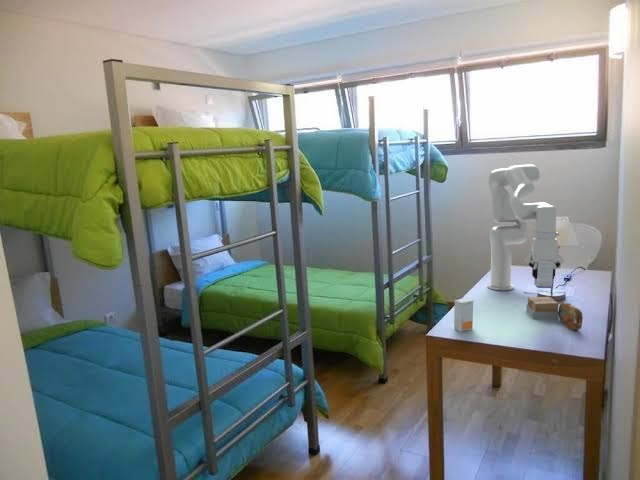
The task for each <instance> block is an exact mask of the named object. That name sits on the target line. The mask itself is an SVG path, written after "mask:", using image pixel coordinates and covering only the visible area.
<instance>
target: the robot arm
mask: <svg viewBox="0 0 640 480" xmlns="http://www.w3.org/2000/svg"><path fill="white" fill-rule="evenodd" d="M540 174H541V173H540V169H539V168H538V167H537V166H536V165H535V164H518V165H512V166H509V167H508V168H507V167H506V168H498V169H494V170H492V171H490V172H489V175H488V186H489V189H490V190H489V191H490V193H491V210H492V212H491V213H492V214H491V215H492V220H493V222H495V223H497V224H509V223H510V224H511V223H513V224H514V225H510V224H509V225H497V226H496V225H495V226H493V227H492V228H490V231H489V241H490V252H491V253H490V282H489V283H487V288H489V289H491V290H493V291H511V290H514V289H515V285H514V284H513V283H512V282H511V281H512V280H511V279H512V277H511V276H512V252H511V250H510V249H509V247H508V245H521V244H524V243H525V242H526V241H527V236H528V231H527V230H528V229H527V228H528V227H527V225H528V222H534V221H535V231H534V232H535V233H534V237H533V238H532V240H531V246H530V253H529V255H528V256H527V257H525V258H524V262H525V263H526V265H529V267H530V268H532V271H531V274H532V277H533V278H534V280H535V279H537V265H538V262H539V261H553V279H552V280H554V279H555V277H556V270H557V268H559V266H561V265H562V264H564V262H565V259H564V258H563V257H562V256H561V255H560V254H559V244H558V239H557V237H559V236H560V232H559V231H558V232H557V231H556V230H557V206H555V205H551V204H550V203H547V202H530V203H529V202H527V203H523V200H525V199H527V198H529V197H530V196H532V194H533V193H534V191H535V185H534V184H536V183H537V182H538V181H539V180H540V177H541V175H540ZM506 187H510V188H511V189H512V191H513V194H512V196H511V193H510V192H509V190H508V189H507V188H506ZM531 261H532V262H531Z"/></svg>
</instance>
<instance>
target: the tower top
mask: <svg viewBox="0 0 640 480" xmlns="http://www.w3.org/2000/svg"><path fill="white" fill-rule="evenodd" d="M527 304H528V306H529V307H530V308H531V309H533V310H534V311H535V312H555V311H558V310H559V303H558V301H556V300H554V299H553V298H552V297H550V296H533V297H532V296H531V297H529V296H528V297H527Z"/></svg>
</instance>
